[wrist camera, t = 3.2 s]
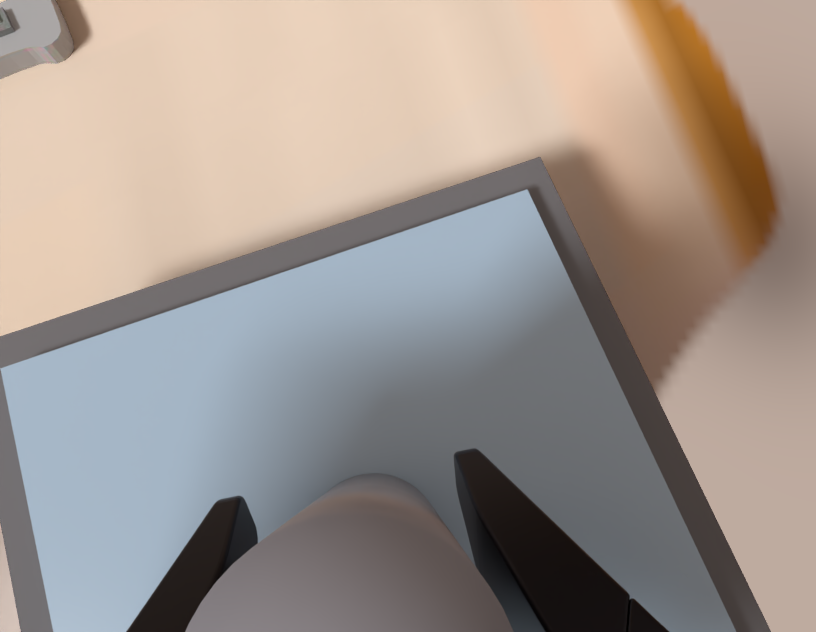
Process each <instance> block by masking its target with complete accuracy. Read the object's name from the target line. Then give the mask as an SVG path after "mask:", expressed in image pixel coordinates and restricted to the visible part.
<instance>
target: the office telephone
mask: <svg viewBox="0 0 816 632" xmlns="http://www.w3.org/2000/svg"><path fill="white" fill-rule="evenodd" d="M73 49H74V45H73V39H72V37H71V34H70V32H69V29H68V26H67V24H66V21H65V19H64V17H63V15H62V13H61V10H60V8H59V6H58V4H57V2H56V0H6V1H4V2H1V3H0V79H2V78H4V77H7V76H9V75H12V74H14V73H17V72H19V71H21V70H24V69H27V68H30V67H33V66H36V65H39V64H44V63H60V62H62V61H64V60H66V59H67V58H68V57H69V56H70V55H71V54H72V52H73Z"/></svg>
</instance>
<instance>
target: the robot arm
mask: <svg viewBox="0 0 816 632" xmlns="http://www.w3.org/2000/svg"><path fill="white" fill-rule="evenodd" d="M454 468H455V479H456V488H457V494H458V498H459V502H460V506H461V510H462V514H463V518H464V522H465V526H466V530H467V534H468V538H469V542H470V546H471V550H472V554H473V558H474V562H475V566H476V568H477V569H478V571H479V572H480V574H481V575H482V576H483V578H484V579H485V581H486V582H487V583H488V585H489V586H490V588H491V589H492V591H493V593H494V594H495V596H496V598H497V599H498V601H499V603H500V604H501V606H502V607H503V609H504V611H505V614H506V616H507V618H508V620H509V623H510V625H511V627H512V629H513V631H514V632H669V631H668V630H667V629H666V628H665V627H664V626H663V625H662V624H661V623H659V622H658V621H657V620H656V619H655V618H654V617H653V616H652V615H651V614H650V613H649V612H648V611H647V610H646V609H645V608H644V607H643V606H642V605H641V604H640V603H638V602H637V601H636V600H635V599H634V598H631V599H630V595H629V593H628V592H627V591H626V590H625V589H624V588H623V587H621V586H620V585H619V584H618V583H617V582H616V581H615V580H614V579H613V578H612V577H611V576H610V575H609V574H608V573H607V572H606V571H605V570H604V569H603V568H602V567H601V566H600V565H599V564H597V563H596V562H595V561H594V560H593V559H592V558H591V557H590V556H589V555H588V554H587V553H586V552H585V551H584V550H583V549H582V548H581V547H580V546H579V545H578V544H577V543H576V542H574V541H573V540H572V539H571V538H570V537H569V536H568V535H567V534H566V533H565V532H564V531H563V530H562V529H561V528H560V527H559V526H558V525H557V524H556V523H555V522H554V521H553V520H552V519H550V518H549V517H548V516H547V515H546V514H545V513H544V512H543V511H542V510H541V509H540V508H539V507H538V506H537V505H536V504H535V503H534V502H533V501H532V500H531V499H530V498H529V497H527V496H526V495H525V494H524V493H523V492H522V491H521V490H520V489H519V488H518V487H517V486H516V485H515V484H514V483H513V482H512V481H511V480H510V479H509V478H508V477H507V476H506V475H505V474H503V473H502V472H501V471H500V470H499V469H498V468H497V467H496V466H495V465H494V464H493V463H492V462H491V461H490V460H489V459H488V458H487V457H486V456H485V455H484V454H483V453H482V452H480V451H479V450H478V449H476V448H472V449H467V450H462V451H457V452H456V453H455V454H454ZM256 544H258V535H257V529H256V525H255V523H254V520H253V518H252V515H251V513H250V511H249V508H248V506H247V503H246V501H245V499H244V498H243V497H242V496H233V497H228V498H223V499H219V500H218V501H216V502H215V503H214V505H213V506H212V508H211V509H210V510H209V512H208V513H207V515H206V516H205V518H204V519H203V521H202V522H201V524H200V525H199V526H198V528H197V529H196V531H195V532H194V534H193V535H192V537H191V538H190V540H189V541H188V542H187V544H186V545H185V547H184V548H183V550H182V551H181V553H180V554H179V556H178V557H177V558H176V560H175V561H174V563H173V564H172V566H171V567H170V569H169V570H168V572H167V573H166V575H165V576H164V577H163V579H162V580H161V582H160V583H159V585H158V586H157V588H156V589H155V591H154V592H153V593H152V595H151V596H150V598H149V599H148V601H147V602H146V604H145V605H144V607H143V608H142V609H141V611H140V612H139V614H138V615H137V617H136V618H135V620H134V621H133V623H132V624H131V625H130V627H129V628H128V630H127V631H126V632H185V631H186V629H187V626H188V624H189V623H190V621H191V619H192V617H193V616H194V614H195V612H196V610H197V609H198V607H199V605H200V603H201V602H202V600H203V599H204V598H205V596H206V595H207V594H208V592H209V591H210V589H211V588H212V587H213V585H214V584H215V583H216V581H217V580H218V579H219V578H220V577H221V576H222V575H223V574H224V573H225V572H226V571H227V570H228V568H229V567H230V566H231V565H232V564H233V563H234V562H236V561H237V560H238V559H239V558H240V557H241V556H243V555H244V554H245V553H246V552H247V551H249V550H250V549H251V548H252V547H254V546H255V545H256Z"/></svg>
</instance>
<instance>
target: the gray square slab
mask: <svg viewBox="0 0 816 632" xmlns="http://www.w3.org/2000/svg"><path fill="white" fill-rule="evenodd" d="M524 190H528V192H529V194H530V196H531V198H532V200H533V202H534V204H535V207H536V209H537V211H538V213H539V215H540V217H541V219H542V221H543V224H544V226H545V228H546V230H547V232H548V234H549V236H550V238H551V240H552V243H553V245H554V247H555V249H556V251H557V253H558V255H559V257H560V260H561V262H562V264H563V266H564V268H565V270H566V272H567V274H568V276H569V279H570V281H571V283H572V285H573V287H574V289H575V291H576V293H577V295H578V298H579V300H580V302H581V304H582V306H583V308H584V310H585V312H586V315H587V317H588V319H589V321H590V323H591V325H592V327H593V329H594V331H595V334H596V336H597V338H598V340H599V342H600V344H601V346H602V348H603V351H604V353H605V355H606V357H607V359H608V361H609V363H610V365H611V367H612V370H613V372H614V374H615V376H616V378H617V380H618V382H619V384H620V387H621V389H622V391H623V393H624V395H625V397H626V399H627V401H628V403H629V406H630V408H631V410H632V412H633V414H634V416H635V418H636V420H637V423H638V425H639V427H640V429H641V431H642V433H643V435H644V437H645V439H646V442H647V444H648V446H649V448H650V450H651V452H652V454H653V456H654V459H655V461H656V463H657V465H658V467H659V469H660V471H661V473H662V475H663V478H664V480H665V482H666V484H667V486H668V488H669V490H670V492H671V494H672V497H673V499H674V501H675V503H676V505H677V507H678V509H679V511H680V514H681V516H682V518H683V520H684V522H685V524H686V526H687V528H688V530H689V533H690V535H691V537H692V539H693V541H694V543H695V545H696V547H697V550H698V552H699V554H700V556H701V558H702V560H703V562H704V564H705V566H706V569H707V571H708V573H709V575H710V577H711V579H712V581H713V583H714V586H715V588H716V590H717V592H718V594H719V596H720V598H721V600H722V602H723V605H724V607H725V609H726V611H727V613H728V615H729V617H730V619H731V622H732V624H733V626H734V628H735V630H736V632H771V631H770V629H769V627H768V625H767V623H766V620H765V618H764V616H763V614H762V612H761V610H760V608H759V606H758V604H757V602H756V600H755V598H754V596H753V594H752V592H751V590H750V588H749V586H748V583H747V582H746V579H745V577H744V575H743V574H742V571H741V569H740V567H739V565H738V563H737V561H736V559H735V557H734V555H733V553H732V551H731V548H730V546H729V545H728V542H727V540H726V538H725V536H724V534H723V532H722V530H721V528H720V526H719V524H718V522H717V520H716V518H715V516H714V514H713V512H712V509H711V508H710V506H709V503H708V501H707V499H706V497H705V495H704V493H703V491H702V489H701V487H700V485H699V483H698V481H697V479H696V477H695V474H694V472H693V470H692V468H691V466H690V464H689V462H688V460H687V458H686V456H685V454H684V452H683V450H682V448H681V446H680V444H679V442H678V439H677V437H676V435H675V433H674V431H673V429H672V427H671V425H670V423H669V421H668V419H667V417H666V415H665V413H664V411H663V409H662V407H661V405H660V402H659V400H658V398H657V396H656V394H655V392H654V390H653V388H652V386H651V384H650V382H649V380H648V378H647V376H646V374H645V372H644V370H643V367H642V365H641V363H640V361H639V359H638V357H637V355H636V353H635V351H634V349H633V347H632V345H631V343H630V341H629V339H628V337H627V335H626V333H625V330H624V328H623V326H622V324H621V322H620V320H619V318H618V316H617V314H616V312H615V310H614V308H613V306H612V304H611V302H610V300H609V298H608V295H607V293H606V291H605V289H604V287H603V285H602V283H601V281H600V279H599V277H598V275H597V273H596V271H595V269H594V267H593V265H592V263H591V261H590V258H589V256H588V254H587V252H586V250H585V248H584V246H583V244H582V242H581V240H580V238H579V236H578V234H577V232H576V230H575V228H574V226H573V223H572V221H571V219H570V217H569V215H568V213H567V211H566V209H565V207H564V205H563V203H562V201H561V199H560V197H559V195H558V193H557V191H556V189H555V186H554V184H553V182H552V180H551V178H550V176H549V174H548V172H547V170H546V168H545V166H544V164H543V162H542V160H541V158H540V157H538V158H535V159H532V160H529V161H526V162H523V163H520V164H517V165H514V166H511V167H508V168H505V169H502V170H499V171H496V172H493V173H490V174H487V175H484V176H481V177H478V178H475V179H472V180H469V181H466V182H463V183H460V184H457V185H454V186H451V187H448V188H445V189H442V190H439V191H436V192H433V193H430V194H427V195H424V196H421V197H418V198H415V199H412V200H409V201H406V202H403V203H400V204H397V205H394V206H391V207H388V208H385V209H382V210H379V211H376V212H373V213H370V214H367V215H364V216H361V217H358V218H355V219H352V220H349V221H346V222H343V223H340V224H337V225H334V226H331V227H328V228H325V229H322V230H319V231H316V232H313V233H310V234H307V235H304V236H301V237H298V238H295V239H292V240H289V241H286V242H283V243H280V244H277V245H274V246H271V247H268V248H265V249H262V250H259V251H256V252H253V253H250V254H247V255H244V256H241V257H238V258H235V259H232V260H229V261H226V262H223V263H220V264H217V265H214V266H211V267H208V268H205V269H202V270H199V271H196V272H193V273H190V274H187V275H184V276H181V277H178V278H175V279H172V280H169V281H166V282H163V283H160V284H157V285H154V286H151V287H148V288H145V289H142V290H139V291H136V292H133V293H130V294H127V295H124V296H121V297H118V298H115V299H112V300H109V301H106V302H103V303H100V304H97V305H94V306H91V307H88V308H85V309H82V310H79V311H76V312H73V313H70V314H67V315H64V316H61V317H58V318H55V319H52V320H49V321H46V322H43V323H40V324H37V325H34V326H31V327H28V328H25V329H22V330H19V331H16V332H12V333H9V334H6V335H3V336H0V368H3V367H6V366H9V365H12V364H15V363H18V362H21V361H24V360H27V359H30V358H32V357H35V356H38V355H41V354H44V353H47V352H50V351H53V350H56V349H59V348H62V347H65V346H68V345H71V344H74V343H77V342H80V341H82V340H85V339H88V338H91V337H94V336H97V335H100V334H103V333H106V332H109V331H112V330H115V329H118V328H121V327H124V326H127V325H130V324H132V323H135V322H138V321H141V320H144V319H147V318H150V317H153V316H156V315H159V314H162V313H165V312H168V311H171V310H174V309H177V308H180V307H182V306H185V305H188V304H191V303H194V302H197V301H200V300H203V299H206V298H209V297H212V296H215V295H218V294H221V293H224V292H227V291H230V290H232V289H235V288H238V287H241V286H244V285H247V284H250V283H253V282H256V281H259V280H262V279H265V278H268V277H271V276H274V275H277V274H280V273H282V272H285V271H288V270H291V269H294V268H297V267H300V266H303V265H306V264H309V263H312V262H315V261H318V260H321V259H324V258H327V257H330V256H332V255H335V254H338V253H341V252H344V251H347V250H350V249H353V248H356V247H359V246H362V245H365V244H368V243H371V242H374V241H377V240H380V239H382V238H385V237H388V236H391V235H394V234H397V233H400V232H403V231H406V230H409V229H412V228H415V227H418V226H421V225H424V224H427V223H430V222H432V221H435V220H438V219H441V218H444V217H447V216H450V215H453V214H456V213H459V212H462V211H465V210H468V209H471V208H474V207H477V206H480V205H482V204H485V203H488V202H491V201H494V200H497V199H500V198H503V197H506V196H509V195H512V194H515V193H518V192H521V191H524ZM0 523H1V528H2V533H3V539H4V544H5V549H6V554H7V560H8V565H9V570H10V576H11V581H12V586H13V592H14V597H15V602H16V608H17V613H18V618H19V624H20V629H21V632H53V628H52V623H51V618H50V613H49V608H48V603H47V598H46V593H45V588H44V583H43V578H42V573H41V568H40V563H39V558H38V553H37V548H36V543H35V538H34V533H33V528H32V523H31V518H30V513H29V508H28V503H27V498H26V493H25V488H24V483H23V478H22V473H21V468H20V463H19V458H18V453H17V448H16V443H15V438H14V433H13V428H12V423H11V419H10V414H9V409H8V404H7V399H6V394H5V389H4V384H3V379H2V374H1V369H0Z"/></svg>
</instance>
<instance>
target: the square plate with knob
mask: <svg viewBox="0 0 816 632" xmlns="http://www.w3.org/2000/svg"><path fill="white" fill-rule="evenodd" d="M0 369H1V374H2V379H3V384H4V389H5V394H6V399H7V404H8V409H9V414H10V419H11V423H12V428H13V433H14V438H15V443H16V448H17V453H18V458H19V463H20V468H21V473H22V478H23V483H24V488H25V493H26V498H27V503H28V508H29V513H30V518H31V523H32V528H33V533H34V538H35V543H36V548H37V553H38V558H39V563H40V568H41V573H42V578H43V583H44V588H45V593H46V598H47V603H48V608H49V613H50V618H51V623H52V628H53V632H126V631H127V630H128V628H129V627H130V625H131V624H132V623H133V621H134V620H135V618H136V617H137V615H138V614H139V612H140V611H141V609H142V608H143V607H144V605H145V604H146V602H147V601H148V599H149V598H150V596H151V595H152V593H153V592H154V591H155V589H156V588H157V586H158V585H159V583H160V582H161V580H162V579H163V577H164V576H165V575H166V573H167V572H168V570H169V569H170V567H171V566H172V564H173V563H174V561H175V560H176V558H177V557H178V556H179V554H180V553H181V551H182V550H183V548H184V547H185V545H186V544H187V542H188V541H189V540H190V538H191V537H192V535H193V534H194V532H195V531H196V529H197V528H198V526H199V525H200V524H201V522H202V521H203V519H204V518H205V516H206V515H207V513H208V512H209V510H210V509H211V508H212V506H213V505H214V503H215V502H216V501H218V500H219V499H223V498H228V497H233V496H242V497H243V498H244V499H245V501H246V503H247V506H248V508H249V511H250V513H251V515H252V518H253V520H254V523H255V525H256V529H257V535H258V544H256V545H255V546H254V547H252V548H251V549H250V550H249V551H247V552H246V553H245V554H244V555H243V556H241V557H240V558H239V559H238V560H237V561H236V562H234V563H233V564H232V565H231V566H230V567H229V568H228V570H227V571H226V572H225V573H224V574H223V575H222V576H221V577H220V578H219V579H218V580H217V581H216V583H215V584H214V585H213V587H212V588H211V589H210V591H209V592H208V594H207V595H206V596H205V598H204V599H203V600H202V602H201V603H200V605H199V607H198V609H197V610H196V612H195V614H194V616H193V617H192V619H191V621H190V623H189V624H188V626H187V629H186V631H185V632H514V631H513V629H512V627H511V625H510V623H509V620H508V618H507V616H506V614H505V611H504V609H503V607H502V606H501V604H500V603H499V601H498V599H497V598H496V596H495V594H494V593H493V591H492V589H491V588H490V586H489V585H488V583H487V582H486V581H485V579H484V578H483V576H482V575H481V574H480V572H479V571H478V569H477V568H476V566H475V562H474V558H473V554H472V550H471V546H470V542H469V538H468V534H467V530H466V526H465V522H464V518H463V514H462V510H461V506H460V502H459V498H458V494H457V488H456V479H455V468H454V454H455V453H456V452H457V451H462V450H467V449H472V448H476V449H478V450H479V451H480V452H482V453H483V454H484V455H485V456H486V457H487V458H488V459H489V460H490V461H491V462H492V463H493V464H494V465H495V466H496V467H497V468H498V469H499V470H500V471H501V472H502V473H503V474H505V475H506V476H507V477H508V478H509V479H510V480H511V481H512V482H513V483H514V484H515V485H516V486H517V487H518V488H519V489H520V490H521V491H522V492H523V493H524V494H525V495H526V496H527V497H529V498H530V499H531V500H532V501H533V502H534V503H535V504H536V505H537V506H538V507H539V508H540V509H541V510H542V511H543V512H544V513H545V514H546V515H547V516H548V517H549V518H550V519H552V520H553V521H554V522H555V523H556V524H557V525H558V526H559V527H560V528H561V529H562V530H563V531H564V532H565V533H566V534H567V535H568V536H569V537H570V538H571V539H572V540H573V541H574V542H576V543H577V544H578V545H579V546H580V547H581V548H582V549H583V550H584V551H585V552H586V553H587V554H588V555H589V556H590V557H591V558H592V559H593V560H594V561H595V562H596V563H597V564H599V565H600V566H601V567H602V568H603V569H604V570H605V571H606V572H607V573H608V574H609V575H610V576H611V577H612V578H613V579H614V580H615V581H616V582H617V583H618V584H619V585H620V586H621V587H623V588H624V589H625V590H626V591H627V592H628V593H629V595H630V599H631V598H634V599H635V600H636V601H637V602H638V603H640V604H641V605H642V606H643V607H644V608H645V609H646V610H647V611H648V612H649V613H650V614H651V615H652V616H653V617H654V618H655V619H656V620H657V621H658V622H659V623H661V624H662V625H663V626H664V627H665V628H666V629H667V630H668V631H669V632H736V630H735V628H734V626H733V624H732V622H731V619H730V617H729V615H728V613H727V611H726V609H725V607H724V605H723V602H722V600H721V598H720V596H719V594H718V592H717V590H716V588H715V586H714V583H713V581H712V579H711V577H710V575H709V573H708V571H707V569H706V566H705V564H704V562H703V560H702V558H701V556H700V554H699V552H698V550H697V547H696V545H695V543H694V541H693V539H692V537H691V535H690V533H689V530H688V528H687V526H686V524H685V522H684V520H683V518H682V516H681V514H680V511H679V509H678V507H677V505H676V503H675V501H674V499H673V497H672V494H671V492H670V490H669V488H668V486H667V484H666V482H665V480H664V478H663V475H662V473H661V471H660V469H659V467H658V465H657V463H656V461H655V459H654V456H653V454H652V452H651V450H650V448H649V446H648V444H647V442H646V439H645V437H644V435H643V433H642V431H641V429H640V427H639V425H638V423H637V420H636V418H635V416H634V414H633V412H632V410H631V408H630V406H629V403H628V401H627V399H626V397H625V395H624V393H623V391H622V389H621V387H620V384H619V382H618V380H617V378H616V376H615V374H614V372H613V370H612V367H611V365H610V363H609V361H608V359H607V357H606V355H605V353H604V351H603V348H602V346H601V344H600V342H599V340H598V338H597V336H596V334H595V331H594V329H593V327H592V325H591V323H590V321H589V319H588V317H587V315H586V312H585V310H584V308H583V306H582V304H581V302H580V300H579V298H578V295H577V293H576V291H575V289H574V287H573V285H572V283H571V281H570V279H569V276H568V274H567V272H566V270H565V268H564V266H563V264H562V262H561V260H560V257H559V255H558V253H557V251H556V249H555V247H554V245H553V243H552V240H551V238H550V236H549V234H548V232H547V230H546V228H545V226H544V224H543V221H542V219H541V217H540V215H539V213H538V211H537V209H536V207H535V204H534V202H533V200H532V198H531V196H530V194H529V192H528V190H524V191H521V192H518V193H515V194H512V195H509V196H506V197H503V198H500V199H497V200H494V201H491V202H488V203H485V204H482V205H480V206H477V207H474V208H471V209H468V210H465V211H462V212H459V213H456V214H453V215H450V216H447V217H444V218H441V219H438V220H435V221H432V222H430V223H427V224H424V225H421V226H418V227H415V228H412V229H409V230H406V231H403V232H400V233H397V234H394V235H391V236H388V237H385V238H382V239H380V240H377V241H374V242H371V243H368V244H365V245H362V246H359V247H356V248H353V249H350V250H347V251H344V252H341V253H338V254H335V255H332V256H330V257H327V258H324V259H321V260H318V261H315V262H312V263H309V264H306V265H303V266H300V267H297V268H294V269H291V270H288V271H285V272H282V273H280V274H277V275H274V276H271V277H268V278H265V279H262V280H259V281H256V282H253V283H250V284H247V285H244V286H241V287H238V288H235V289H232V290H230V291H227V292H224V293H221V294H218V295H215V296H212V297H209V298H206V299H203V300H200V301H197V302H194V303H191V304H188V305H185V306H182V307H180V308H177V309H174V310H171V311H168V312H165V313H162V314H159V315H156V316H153V317H150V318H147V319H144V320H141V321H138V322H135V323H132V324H130V325H127V326H124V327H121V328H118V329H115V330H112V331H109V332H106V333H103V334H100V335H97V336H94V337H91V338H88V339H85V340H82V341H80V342H77V343H74V344H71V345H68V346H65V347H62V348H59V349H56V350H53V351H50V352H47V353H44V354H41V355H38V356H35V357H32V358H30V359H27V360H24V361H21V362H18V363H15V364H12V365H9V366H6V367H3V368H0Z"/></svg>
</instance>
